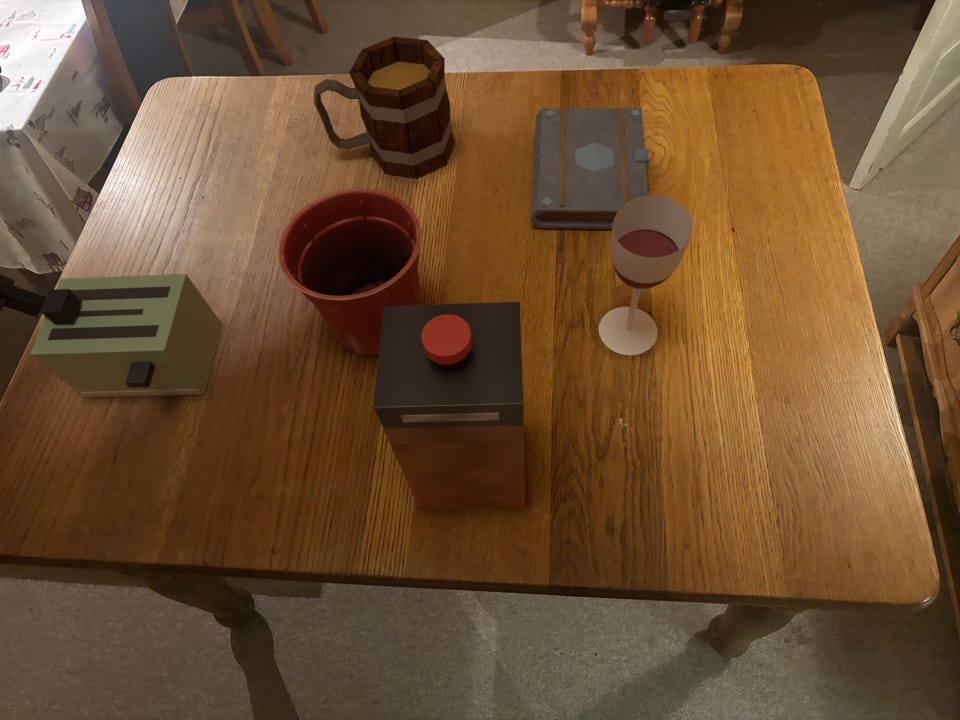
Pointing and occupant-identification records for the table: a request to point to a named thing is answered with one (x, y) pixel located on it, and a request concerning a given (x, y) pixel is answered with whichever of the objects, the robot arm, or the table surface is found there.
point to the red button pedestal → (455, 407)
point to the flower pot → (354, 261)
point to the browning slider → (61, 306)
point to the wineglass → (643, 265)
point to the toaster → (132, 337)
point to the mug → (398, 106)
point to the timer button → (446, 339)
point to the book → (587, 166)
